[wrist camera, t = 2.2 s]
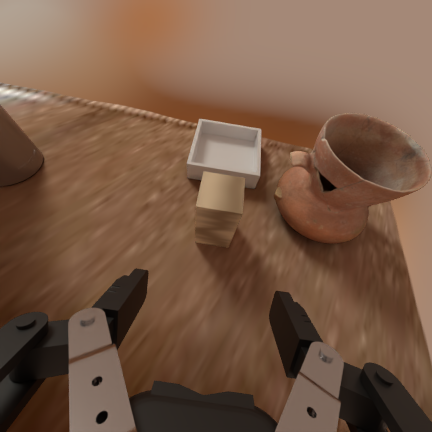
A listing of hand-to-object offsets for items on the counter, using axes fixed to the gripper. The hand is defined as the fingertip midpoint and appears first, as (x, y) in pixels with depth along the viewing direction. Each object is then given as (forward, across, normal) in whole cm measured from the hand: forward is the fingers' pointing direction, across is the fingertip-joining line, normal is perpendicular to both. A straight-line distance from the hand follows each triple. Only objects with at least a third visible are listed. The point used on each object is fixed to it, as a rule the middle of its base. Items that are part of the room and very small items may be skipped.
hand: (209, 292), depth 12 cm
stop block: (+18, 0, +2) cm, 19 cm away
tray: (+29, 0, -9) cm, 31 cm away
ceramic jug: (+24, -17, -2) cm, 29 cm away
